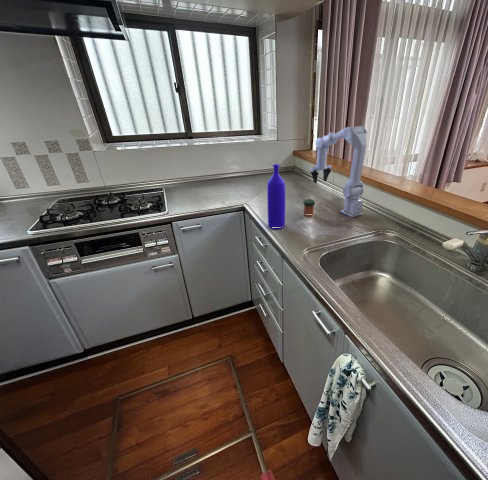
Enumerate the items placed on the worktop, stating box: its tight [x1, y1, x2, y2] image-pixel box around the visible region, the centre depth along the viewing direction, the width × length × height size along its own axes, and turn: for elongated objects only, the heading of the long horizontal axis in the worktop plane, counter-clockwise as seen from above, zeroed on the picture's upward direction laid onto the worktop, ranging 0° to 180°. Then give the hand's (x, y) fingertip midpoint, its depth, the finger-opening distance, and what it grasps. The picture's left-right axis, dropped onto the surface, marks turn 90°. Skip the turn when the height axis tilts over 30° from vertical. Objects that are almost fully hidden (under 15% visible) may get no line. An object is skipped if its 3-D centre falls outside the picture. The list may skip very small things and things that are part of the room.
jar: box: [303, 204, 315, 218], centre depth 142 cm, size 5×5×8 cm
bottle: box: [266, 163, 286, 231], centre depth 124 cm, size 8×8×30 cm
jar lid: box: [303, 198, 316, 207], centre depth 140 cm, size 6×6×2 cm
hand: (320, 181), depth 163 cm, fingers open, 7 cm apart
